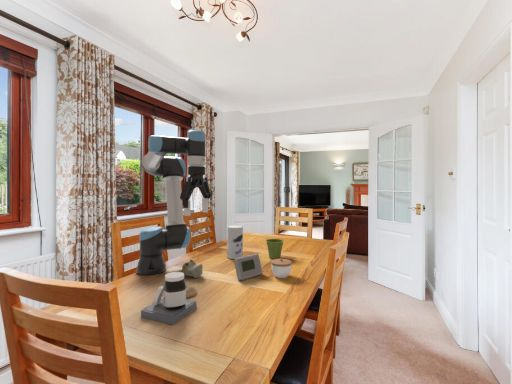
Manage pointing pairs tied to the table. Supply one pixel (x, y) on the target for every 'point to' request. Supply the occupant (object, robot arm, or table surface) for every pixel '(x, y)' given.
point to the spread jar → (172, 291)
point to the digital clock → (248, 266)
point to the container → (234, 242)
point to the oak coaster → (190, 292)
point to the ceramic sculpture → (192, 269)
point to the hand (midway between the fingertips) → (196, 214)
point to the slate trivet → (167, 312)
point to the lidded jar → (281, 267)
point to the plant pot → (274, 248)
